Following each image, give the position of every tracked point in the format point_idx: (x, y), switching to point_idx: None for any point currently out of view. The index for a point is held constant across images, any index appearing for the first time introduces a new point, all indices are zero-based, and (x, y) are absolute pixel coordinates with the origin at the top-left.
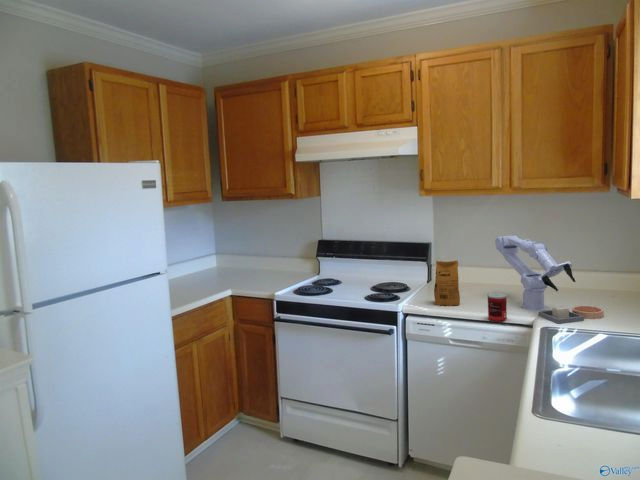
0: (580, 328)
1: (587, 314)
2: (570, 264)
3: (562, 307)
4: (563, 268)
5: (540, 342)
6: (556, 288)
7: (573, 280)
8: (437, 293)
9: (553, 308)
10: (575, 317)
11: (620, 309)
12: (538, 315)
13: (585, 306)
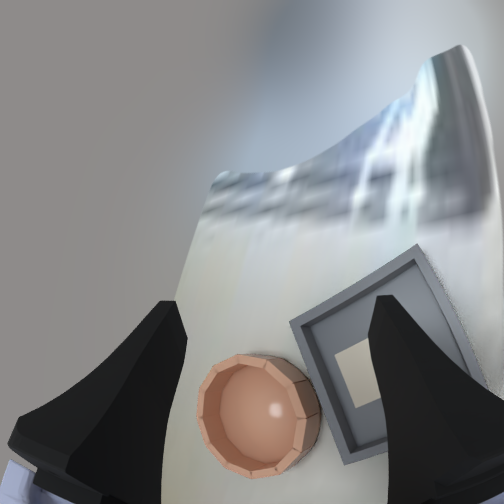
0: (335, 225)
1: (265, 358)
2: (23, 467)
3: (365, 376)
4: None
5: (459, 50)
6: (383, 296)
7: (176, 311)
8: None
9: None
10: (329, 300)
11: None
12: None
13: (239, 466)
